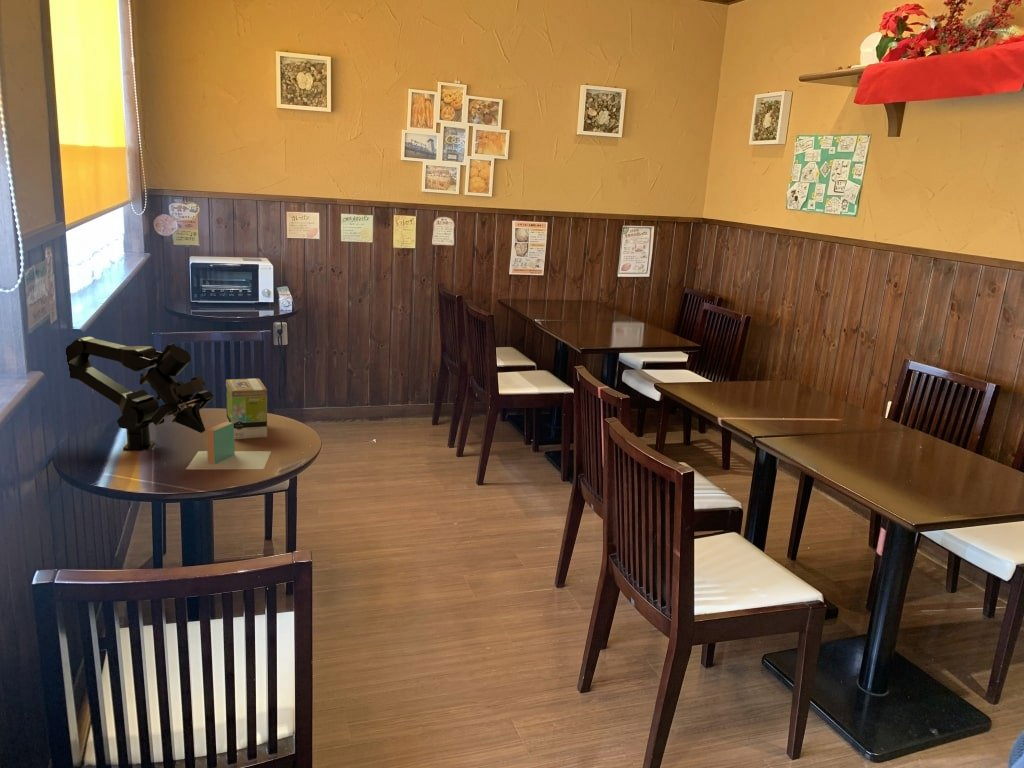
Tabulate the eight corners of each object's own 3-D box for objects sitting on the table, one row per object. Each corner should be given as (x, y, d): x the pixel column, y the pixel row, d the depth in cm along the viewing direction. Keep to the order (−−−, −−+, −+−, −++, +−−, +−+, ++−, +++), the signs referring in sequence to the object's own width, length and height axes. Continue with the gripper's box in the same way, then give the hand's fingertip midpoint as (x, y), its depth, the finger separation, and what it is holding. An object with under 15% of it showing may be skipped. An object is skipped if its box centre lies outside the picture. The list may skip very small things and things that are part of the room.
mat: (198, 452, 209) (198, 451, 209) (271, 452, 213) (271, 451, 212) (185, 470, 196) (185, 469, 196) (263, 470, 199) (263, 469, 199)
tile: (207, 462, 201) (206, 429, 199) (226, 453, 209) (225, 421, 207) (215, 464, 201) (214, 430, 199) (234, 454, 208) (233, 422, 206)
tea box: (268, 438, 225) (267, 388, 221) (232, 441, 220) (230, 390, 217) (260, 423, 238) (259, 376, 234) (226, 426, 233) (224, 378, 230)
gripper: (158, 375, 193) (198, 423, 193) (206, 361, 211) (242, 405, 210) (133, 401, 197) (172, 448, 197) (183, 385, 214) (218, 429, 214)
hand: (203, 431), depth 204 cm, fingers closed
